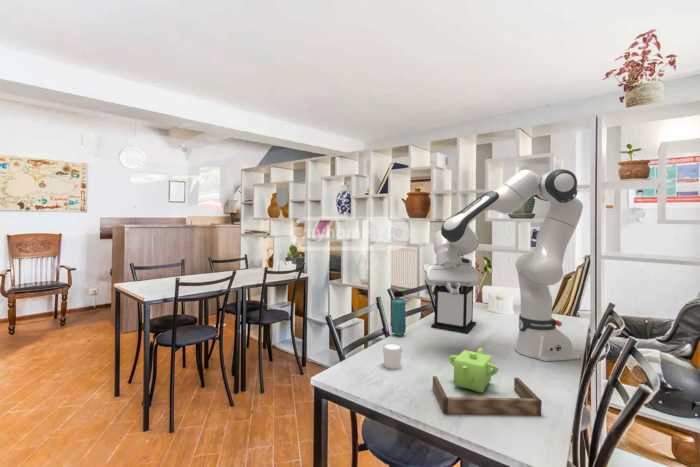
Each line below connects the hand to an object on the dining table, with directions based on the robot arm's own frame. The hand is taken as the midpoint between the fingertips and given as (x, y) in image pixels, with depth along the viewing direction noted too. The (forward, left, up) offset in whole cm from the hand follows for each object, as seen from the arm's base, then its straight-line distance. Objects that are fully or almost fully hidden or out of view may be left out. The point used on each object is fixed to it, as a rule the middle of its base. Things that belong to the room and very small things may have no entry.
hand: (455, 294), depth 136 cm
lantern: (-11, -40, -25) cm, 48 cm away
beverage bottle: (+18, -25, -25) cm, 39 cm away
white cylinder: (+24, +8, -25) cm, 36 cm away
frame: (0, +32, -24) cm, 40 cm away
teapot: (0, +23, -25) cm, 34 cm away
